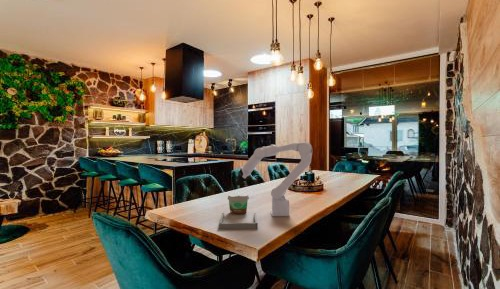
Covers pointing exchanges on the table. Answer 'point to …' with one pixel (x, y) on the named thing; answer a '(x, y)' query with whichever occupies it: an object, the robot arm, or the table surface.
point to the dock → (238, 224)
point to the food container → (238, 204)
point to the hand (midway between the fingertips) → (237, 182)
